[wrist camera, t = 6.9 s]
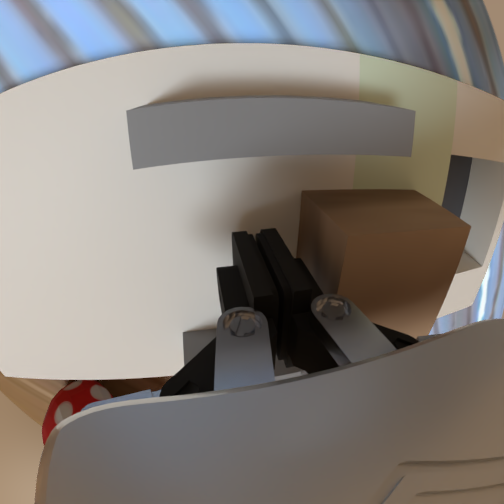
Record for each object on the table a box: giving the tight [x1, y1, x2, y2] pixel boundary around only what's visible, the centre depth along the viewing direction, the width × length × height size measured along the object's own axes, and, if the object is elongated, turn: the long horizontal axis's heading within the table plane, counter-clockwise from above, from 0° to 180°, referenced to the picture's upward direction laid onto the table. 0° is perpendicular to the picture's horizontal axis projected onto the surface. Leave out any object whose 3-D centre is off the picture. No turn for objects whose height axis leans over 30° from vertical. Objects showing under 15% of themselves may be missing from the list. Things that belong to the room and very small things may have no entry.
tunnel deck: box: [0, 43, 504, 381], centre depth 13 cm, size 16×36×8 cm, turn 91°
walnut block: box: [296, 189, 471, 339], centre depth 12 cm, size 6×6×4 cm
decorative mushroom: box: [42, 380, 113, 446], centre depth 20 cm, size 11×11×15 cm
